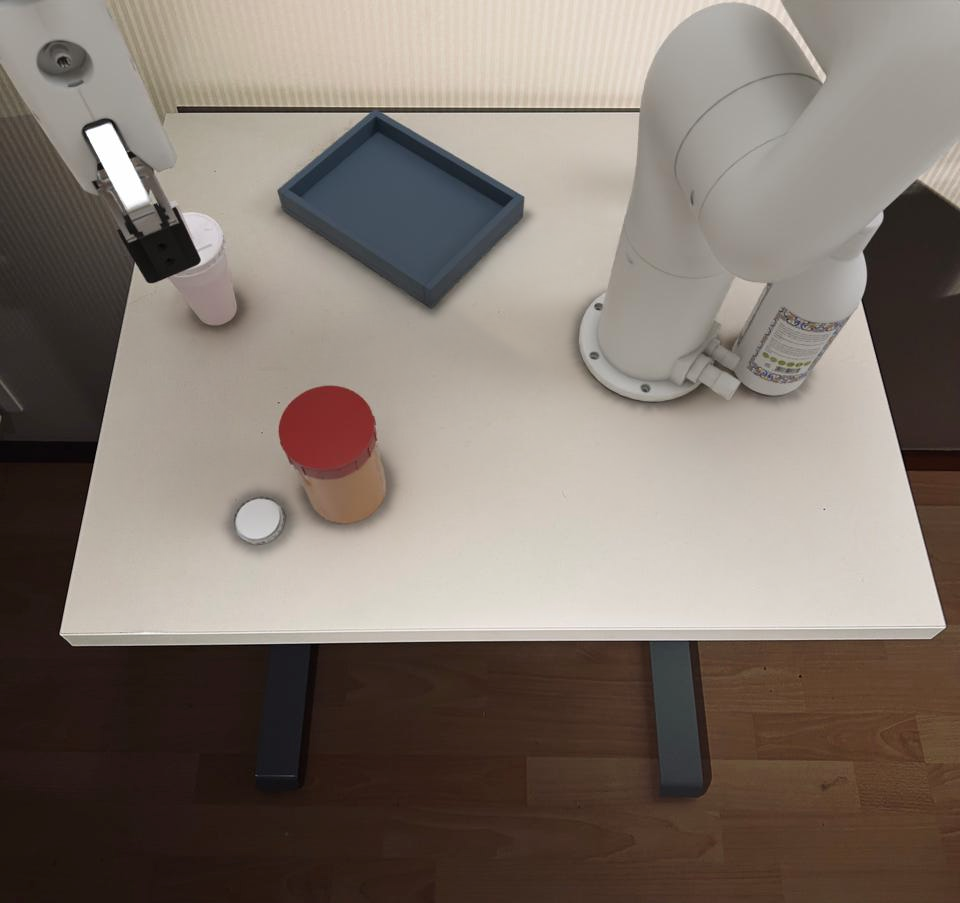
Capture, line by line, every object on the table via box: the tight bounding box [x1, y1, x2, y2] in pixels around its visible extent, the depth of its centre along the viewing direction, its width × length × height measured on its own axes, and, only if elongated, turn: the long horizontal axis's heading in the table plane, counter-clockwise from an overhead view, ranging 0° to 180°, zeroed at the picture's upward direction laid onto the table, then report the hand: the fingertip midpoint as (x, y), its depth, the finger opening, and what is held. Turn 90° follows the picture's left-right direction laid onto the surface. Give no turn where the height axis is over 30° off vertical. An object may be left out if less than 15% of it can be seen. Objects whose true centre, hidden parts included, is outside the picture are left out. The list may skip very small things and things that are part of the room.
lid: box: [278, 384, 378, 480], centre depth 58 cm, size 7×7×2 cm
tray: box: [277, 108, 525, 309], centre depth 80 cm, size 20×15×3 cm
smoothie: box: [167, 200, 238, 327], centre depth 69 cm, size 6×6×14 cm
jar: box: [293, 440, 387, 525], centre depth 63 cm, size 7×7×11 cm
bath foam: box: [731, 210, 884, 396], centre depth 64 cm, size 7×7×20 cm
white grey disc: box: [233, 496, 285, 545], centre depth 66 cm, size 4×4×1 cm
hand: (144, 213), depth 47 cm, fingers open, 9 cm apart
